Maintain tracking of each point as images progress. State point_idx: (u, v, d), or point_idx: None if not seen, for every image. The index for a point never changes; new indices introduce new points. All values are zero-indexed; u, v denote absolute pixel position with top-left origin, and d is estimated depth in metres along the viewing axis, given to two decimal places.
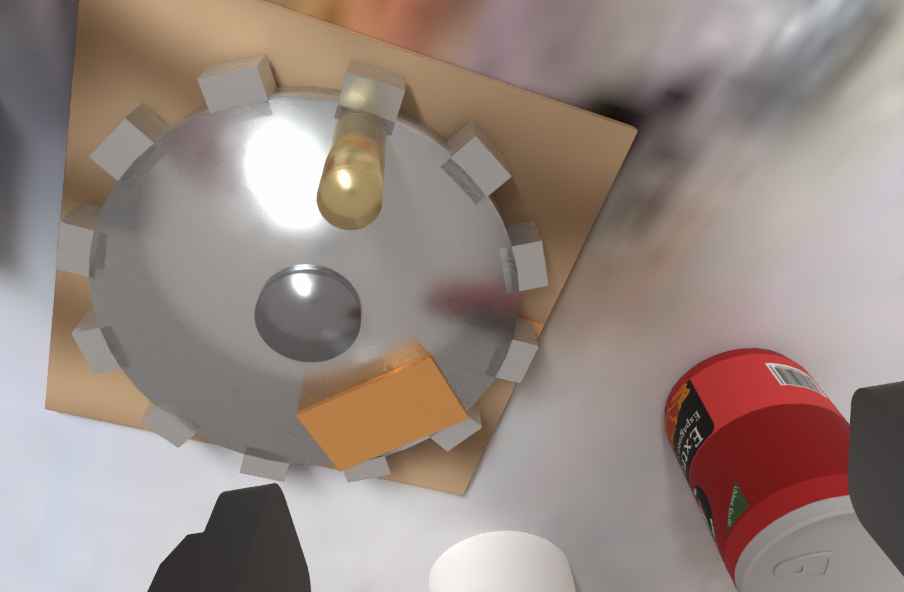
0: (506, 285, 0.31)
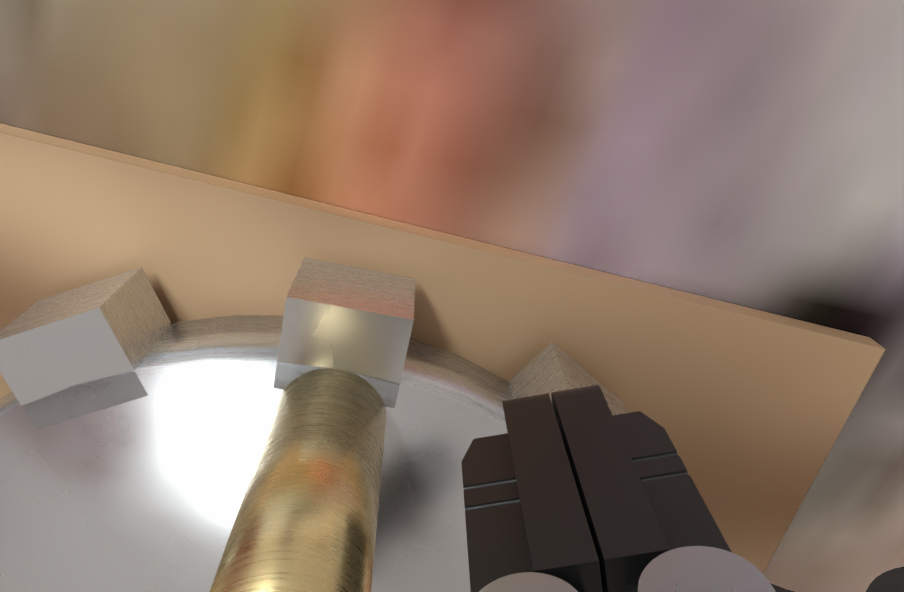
0: None
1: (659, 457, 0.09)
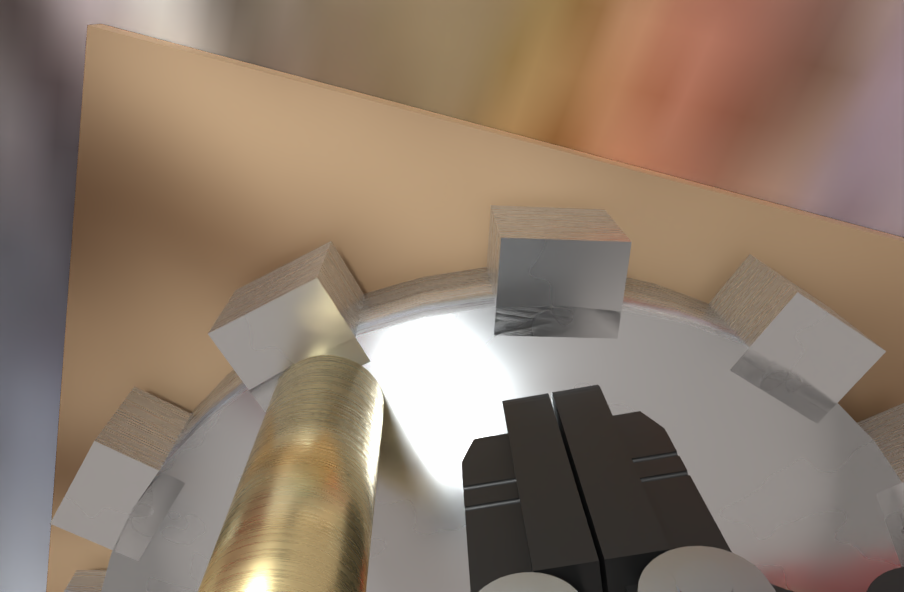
0: (802, 413, 0.14)
1: (659, 457, 0.09)
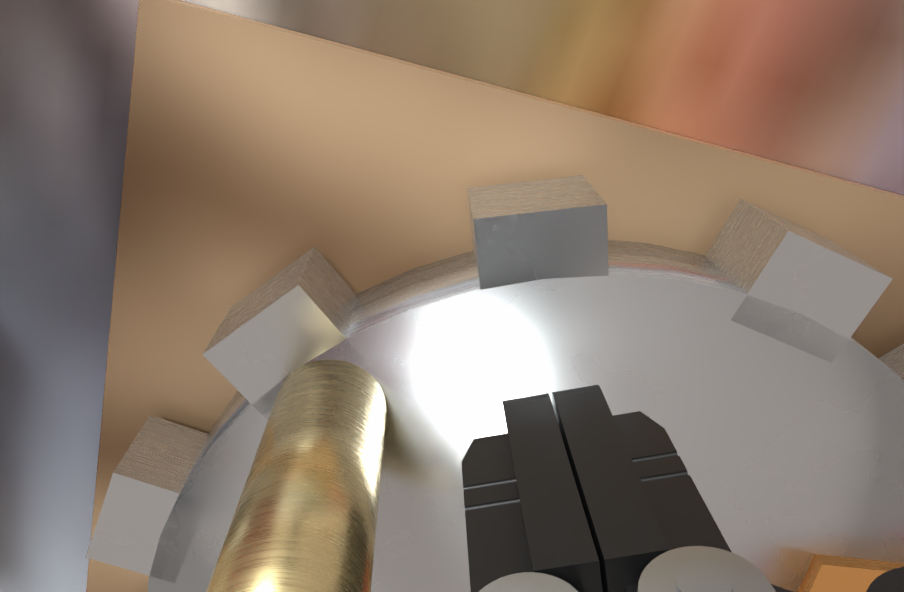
0: (814, 354, 0.13)
1: (659, 457, 0.09)
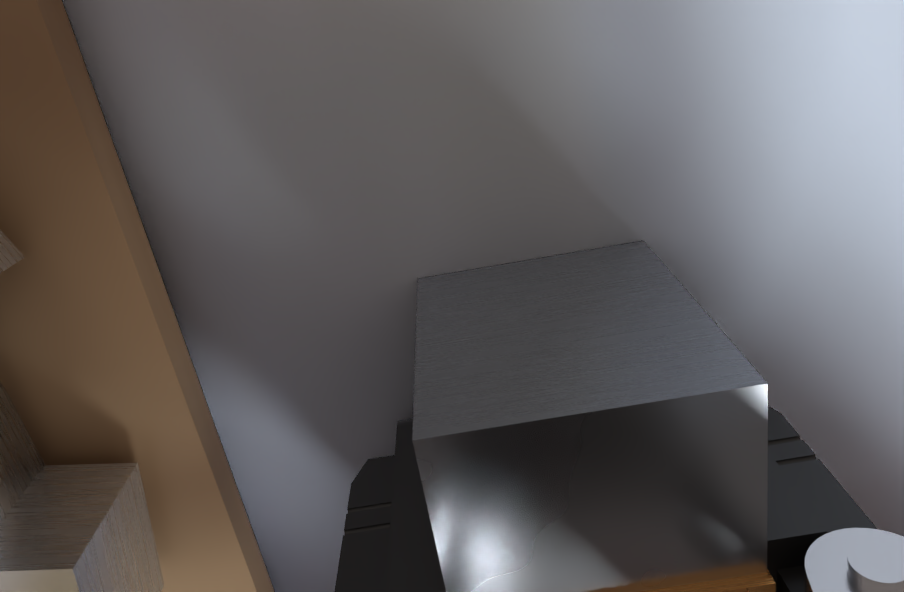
0: None
1: (782, 442, 0.09)
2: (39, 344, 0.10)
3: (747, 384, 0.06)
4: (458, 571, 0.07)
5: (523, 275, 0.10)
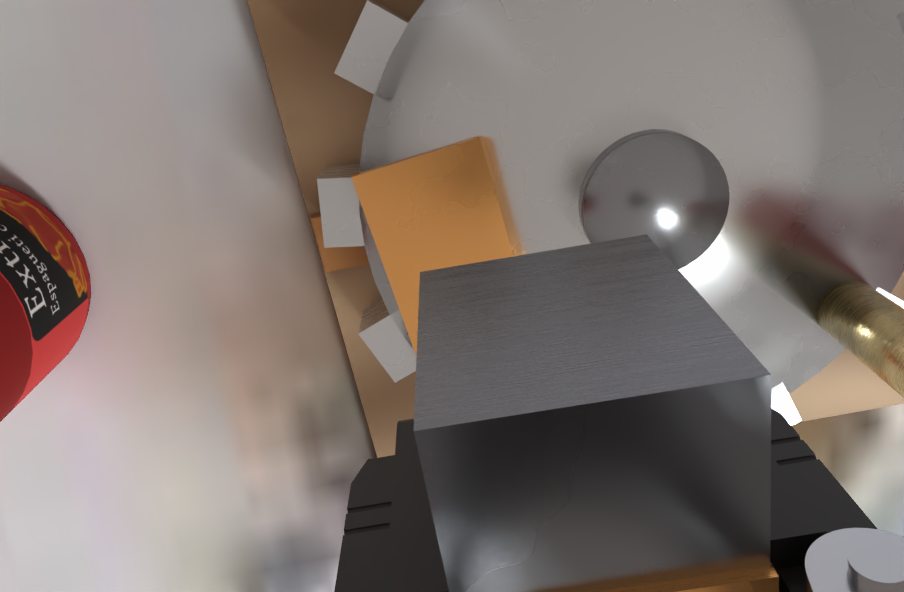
0: None
1: (782, 442, 0.09)
2: None
3: (751, 376, 0.06)
4: (459, 563, 0.07)
5: (524, 268, 0.10)
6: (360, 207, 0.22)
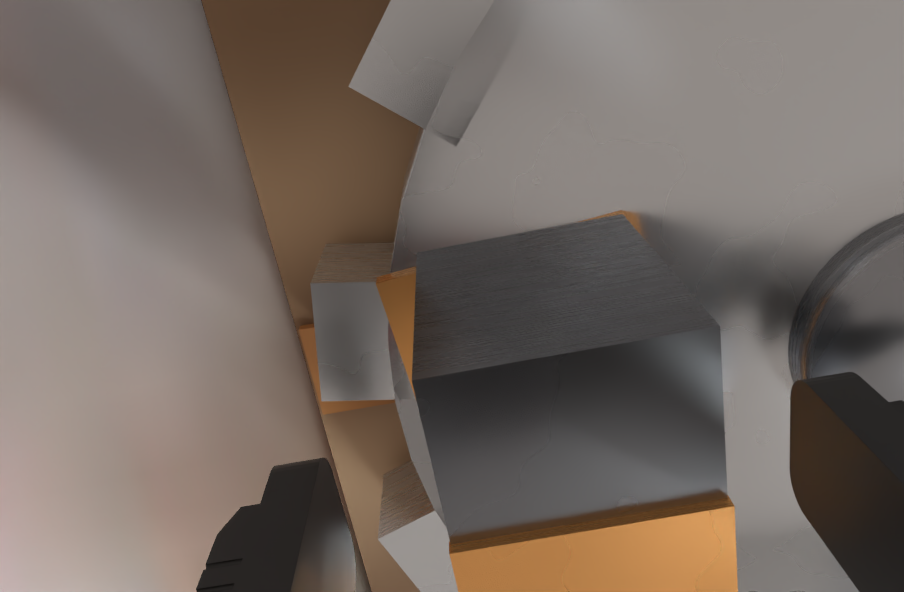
0: None
1: None
2: None
3: (703, 327, 0.07)
4: (454, 500, 0.08)
5: (511, 246, 0.11)
6: (390, 334, 0.12)
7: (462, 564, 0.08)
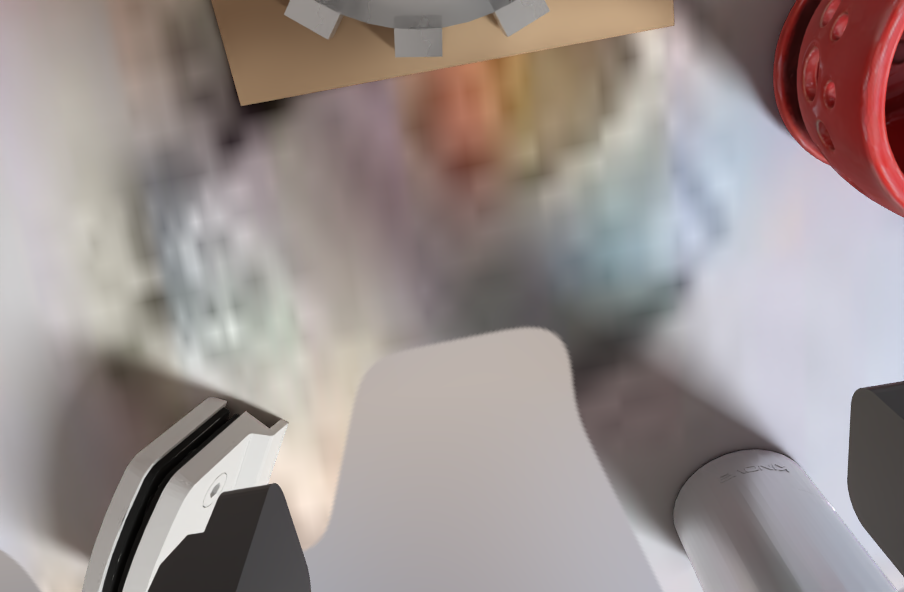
0: (402, 16, 0.33)
1: None
2: None
3: None
4: None
5: None
6: None
7: None
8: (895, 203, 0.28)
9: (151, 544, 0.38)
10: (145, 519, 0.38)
